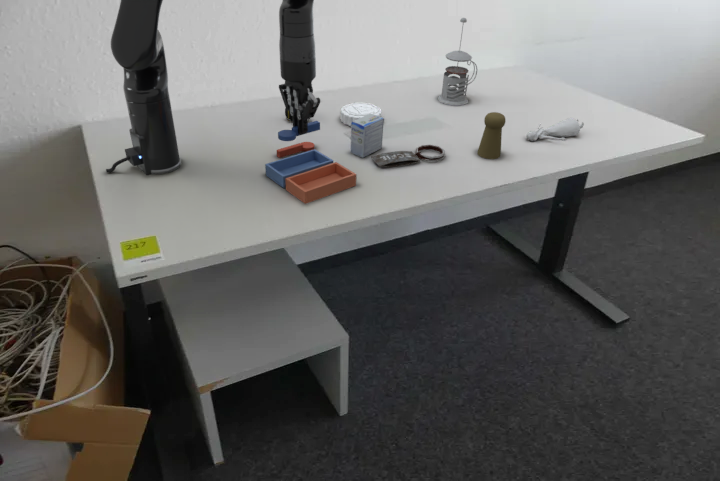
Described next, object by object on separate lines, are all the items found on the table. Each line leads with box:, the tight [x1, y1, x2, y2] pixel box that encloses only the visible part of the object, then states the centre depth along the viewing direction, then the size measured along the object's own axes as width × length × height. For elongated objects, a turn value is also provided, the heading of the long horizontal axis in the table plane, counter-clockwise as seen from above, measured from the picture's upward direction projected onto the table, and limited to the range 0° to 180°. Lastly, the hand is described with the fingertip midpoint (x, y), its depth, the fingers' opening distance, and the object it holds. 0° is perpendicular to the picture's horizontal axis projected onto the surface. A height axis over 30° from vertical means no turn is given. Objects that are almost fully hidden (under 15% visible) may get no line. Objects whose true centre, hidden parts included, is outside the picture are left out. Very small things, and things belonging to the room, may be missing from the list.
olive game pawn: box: [476, 111, 506, 160], centre depth 141 cm, size 6×6×11 cm
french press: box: [437, 17, 478, 106], centre depth 170 cm, size 10×12×25 cm
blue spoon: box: [277, 120, 321, 142], centre depth 126 cm, size 11×4×2 cm, turn 129°
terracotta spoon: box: [276, 141, 316, 159], centre depth 141 cm, size 11×4×2 cm, turn 129°
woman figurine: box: [525, 117, 585, 142], centre depth 154 cm, size 12×4×18 cm
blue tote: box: [264, 148, 334, 189], centre depth 131 cm, size 14×8×3 cm, turn 129°
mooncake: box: [339, 102, 383, 127], centre depth 160 cm, size 12×12×4 cm
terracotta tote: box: [285, 161, 357, 205], centre depth 126 cm, size 14×8×3 cm, turn 129°
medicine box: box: [350, 114, 385, 159], centre depth 141 cm, size 8×4×9 cm, turn 141°
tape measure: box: [284, 107, 311, 122], centre depth 159 cm, size 7×7×4 cm
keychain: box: [371, 144, 446, 168], centre depth 140 cm, size 8×19×2 cm, turn 110°
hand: (300, 132), depth 126 cm, fingers closed on blue spoon, 1 cm apart
